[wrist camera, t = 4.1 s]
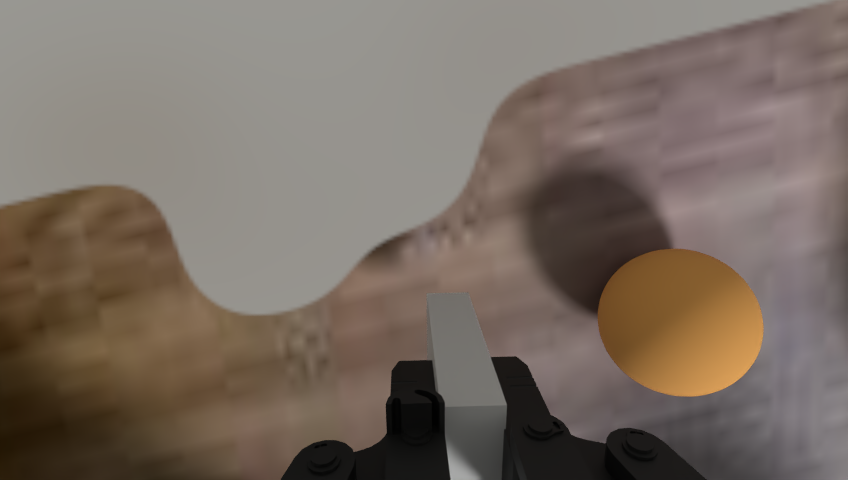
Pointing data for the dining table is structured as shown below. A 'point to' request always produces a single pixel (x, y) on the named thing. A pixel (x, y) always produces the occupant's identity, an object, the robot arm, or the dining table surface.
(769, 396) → the dining table surface
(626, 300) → the ball
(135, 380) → the dining table surface
